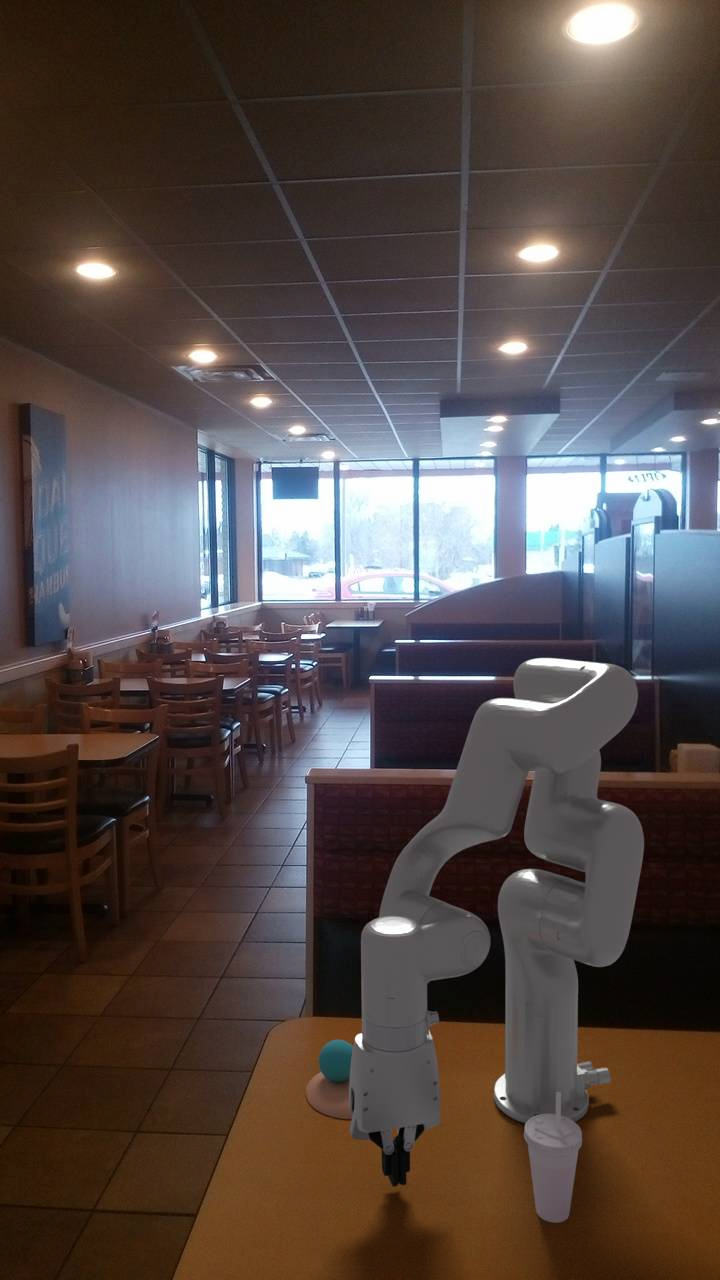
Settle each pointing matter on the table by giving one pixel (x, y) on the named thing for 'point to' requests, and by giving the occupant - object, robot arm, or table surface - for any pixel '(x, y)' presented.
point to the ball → (336, 1060)
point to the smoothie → (553, 1162)
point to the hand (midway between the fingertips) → (395, 1177)
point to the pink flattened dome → (329, 1096)
